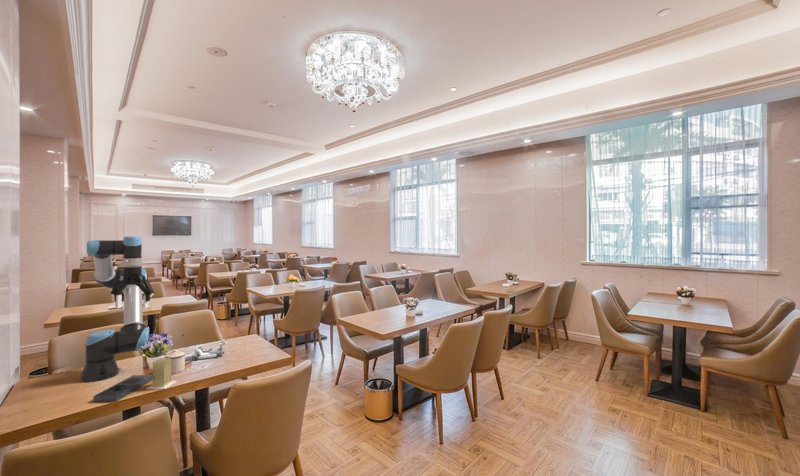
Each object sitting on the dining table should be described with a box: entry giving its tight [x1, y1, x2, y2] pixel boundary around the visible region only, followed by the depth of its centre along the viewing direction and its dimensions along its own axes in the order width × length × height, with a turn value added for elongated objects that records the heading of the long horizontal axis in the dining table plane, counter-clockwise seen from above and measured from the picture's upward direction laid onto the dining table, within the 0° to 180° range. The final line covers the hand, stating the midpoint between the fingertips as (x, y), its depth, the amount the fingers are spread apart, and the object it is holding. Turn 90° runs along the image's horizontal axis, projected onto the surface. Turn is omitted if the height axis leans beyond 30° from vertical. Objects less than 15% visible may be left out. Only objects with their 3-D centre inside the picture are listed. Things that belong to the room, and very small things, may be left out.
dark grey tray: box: [92, 374, 153, 403], centre depth 168 cm, size 10×24×3 cm, turn 2°
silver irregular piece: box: [192, 338, 228, 362], centre depth 216 cm, size 18×10×12 cm
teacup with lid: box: [164, 348, 186, 375], centre depth 191 cm, size 12×9×12 cm
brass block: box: [152, 357, 172, 387], centre depth 173 cm, size 6×6×12 cm
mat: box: [146, 380, 177, 390], centre depth 173 cm, size 9×9×1 cm
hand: (132, 307), depth 181 cm, fingers open, 13 cm apart
